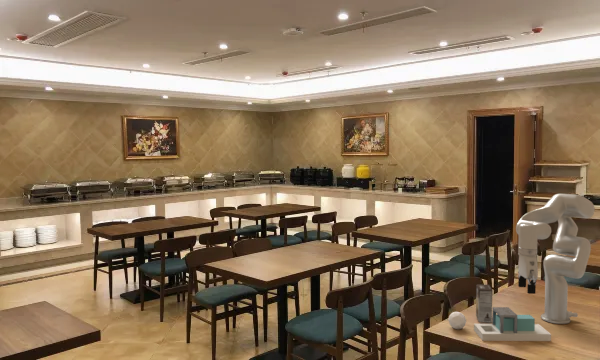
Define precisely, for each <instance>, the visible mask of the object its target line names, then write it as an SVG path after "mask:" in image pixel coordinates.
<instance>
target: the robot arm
mask: <svg viewBox="0 0 600 360" xmlns="http://www.w3.org/2000/svg"><path fill="white" fill-rule="evenodd" d="M595 210H596V209H595V205H594V203H593V202H592V201H591V200H589V199H588V198H586V197H585V196H583V195H579V194H574V193H573V194H572V193H555V194H553V196H551V197H550V198H549V199H548V201H546V203H545V204H544V206H543V207H539V208H537V209H534V210H531V211H529V212H526V213H525V214H524V215H522V216H521V218H520V219H519V220H518V221H517V223H516V225H515V232H516V234H517V236H518V245H517V246H518V248H517V252H518V253H517V255H518V266H517V269H518V271H517V273H518V276H517V277H518V284H517V285H518V288H527V291H526V292H527V294H530V295H533V294H534V295H535V294H536V290H537V289H536V288H537V287H536V286H537V280H538V277H539V275H538V274H539V272H538V271H539V270H538V269H539V268H538V265H539V264H538V258H537V257H538V240H546V239H548V238H549V237H551V233H552V227H551V226H550V224H552V223H556V222H558V226H557V230H556V233H555V237H554V240H553V243H552V249H553V251H554V252H555V253H556V254H554V253H552V254H548V255H546V256H545V257H544V259H543V261H542V262H543V270H544V313H542V314H541V315H540V319H542V320H543V321H545V322H547V323H551V324H556V325H566V324H567V325H568V324H569V323H571V317H573V318H576V317H577V318H578V317H579V316H578V315H579V314H578V312H572V311H568V289H569V288H568V287H569V286H568V282H567V280H566V277H568V278H570V279H572V278H573V279H581V278H582V277H583V276H584V275H585V272H586V269H587V265H588V263H589V259H590V255H591V250H592V246H591V242H590V240H589V239H587V238H586V237H582V236H577V235H578V231H579V227H578V225H577V224H576V222H575V221H574V219H573V218H575V219H576V218H579V219H590V218H592V217H593V215H594V214H595Z"/></svg>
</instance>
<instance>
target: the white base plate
mask: <svg viewBox="0 0 600 360" xmlns="http://www.w3.org/2000/svg"><path fill="white" fill-rule="evenodd" d="M473 331H474V332H475V334H476V335H477V336H478V337H479V339H480V340H482V341H484V342H485V341H487V342H488V341H490V342H492V341H493V342H494V341H495V342H496V341H497V342H500V341H501V342H502V341H503V342H505V341H506V342H508V341H509V342H510V341H511V342H551V341H552V334H551V333H550V332H549V331H548V330H547V329H545V327H543V326H542V325H541V324H540V323H535V331H517V333H513V331H503V333H500V331H499V330H498V329H497V328H496V325H492V323H473Z"/></svg>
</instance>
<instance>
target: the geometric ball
mask: <svg viewBox="0 0 600 360" xmlns="http://www.w3.org/2000/svg"><path fill="white" fill-rule="evenodd" d="M447 320H448V323H449V326H450V327H452V329H454V330H461V329H464V327H465V326H466V322H467V319H466V317H465V315H464V314H463V313H462V312H459V311H454V312H453V311H452V312H451V313H450V314H449V316H448V319H447Z"/></svg>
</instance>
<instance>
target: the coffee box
mask: <svg viewBox="0 0 600 360" xmlns="http://www.w3.org/2000/svg"><path fill="white" fill-rule="evenodd" d="M475 286H476V287H475V294H476V295H475V316H476V320H477V322H478V323H486V324H492V313H493V289H492V287H491V285H490V284H476V285H475Z"/></svg>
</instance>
